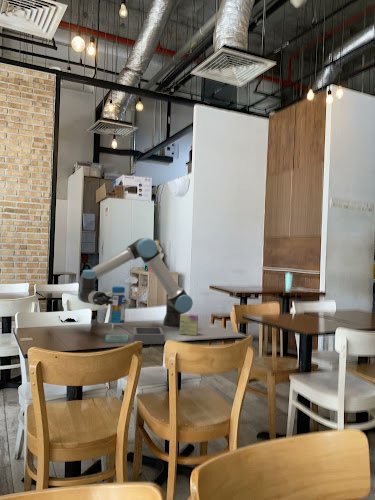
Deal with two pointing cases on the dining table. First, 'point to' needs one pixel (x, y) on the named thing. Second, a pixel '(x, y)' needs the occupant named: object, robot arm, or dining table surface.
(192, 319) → the box
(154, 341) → the gray rectangular frame
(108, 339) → the board
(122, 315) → the beverage bottle
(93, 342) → the dining table surface
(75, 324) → the dining table surface
